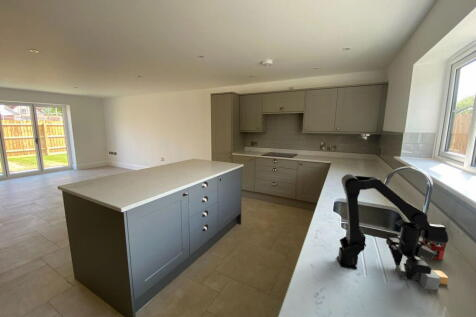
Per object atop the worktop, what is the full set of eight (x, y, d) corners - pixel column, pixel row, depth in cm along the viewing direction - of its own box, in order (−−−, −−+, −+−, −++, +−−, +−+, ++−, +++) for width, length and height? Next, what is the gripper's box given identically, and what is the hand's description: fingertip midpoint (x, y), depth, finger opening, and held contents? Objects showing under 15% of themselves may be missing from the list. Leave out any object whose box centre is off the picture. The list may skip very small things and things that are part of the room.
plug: (400, 277, 80) (401, 270, 79) (395, 270, 83) (396, 264, 83) (447, 284, 77) (448, 277, 76) (439, 277, 80) (441, 271, 80)
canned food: (416, 251, 97) (420, 231, 95) (426, 248, 99) (430, 228, 97) (436, 262, 90) (441, 239, 88) (446, 258, 92) (451, 236, 90)
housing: (425, 288, 75) (428, 276, 74) (405, 266, 86) (407, 256, 85) (437, 290, 74) (440, 278, 73) (416, 267, 85) (418, 257, 85)
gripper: (453, 255, 68) (444, 295, 70) (417, 228, 86) (410, 260, 89) (416, 250, 70) (408, 289, 73) (388, 225, 88) (382, 256, 91)
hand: (402, 272), depth 81 cm, fingers open, 7 cm apart
